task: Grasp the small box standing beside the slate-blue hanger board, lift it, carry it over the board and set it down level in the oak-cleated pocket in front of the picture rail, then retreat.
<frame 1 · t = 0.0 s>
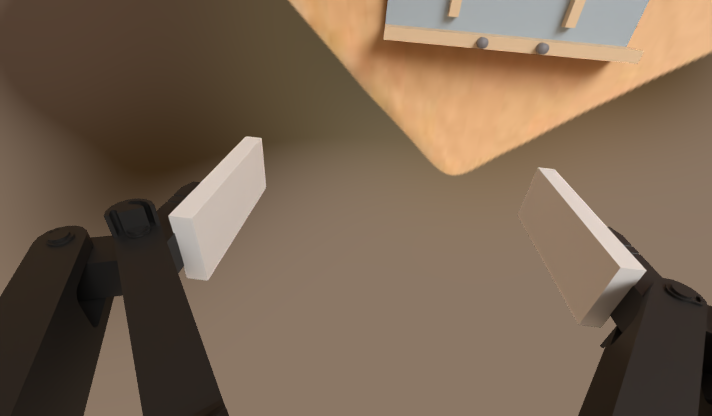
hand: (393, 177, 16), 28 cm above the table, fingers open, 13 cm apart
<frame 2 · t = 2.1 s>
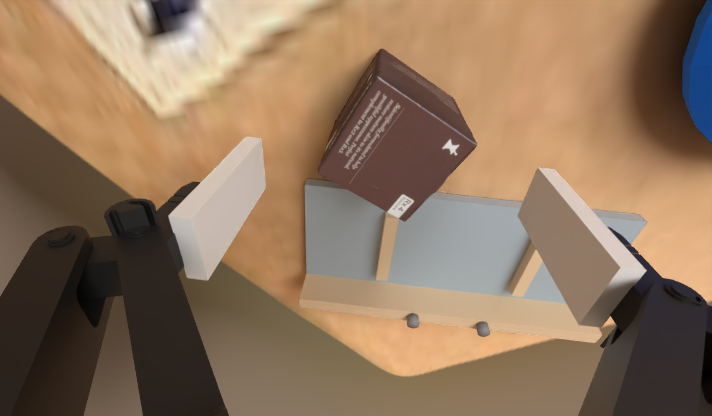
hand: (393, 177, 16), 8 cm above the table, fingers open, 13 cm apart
hanger board: (453, 248, 29), on the table
box: (392, 110, 23), on the table
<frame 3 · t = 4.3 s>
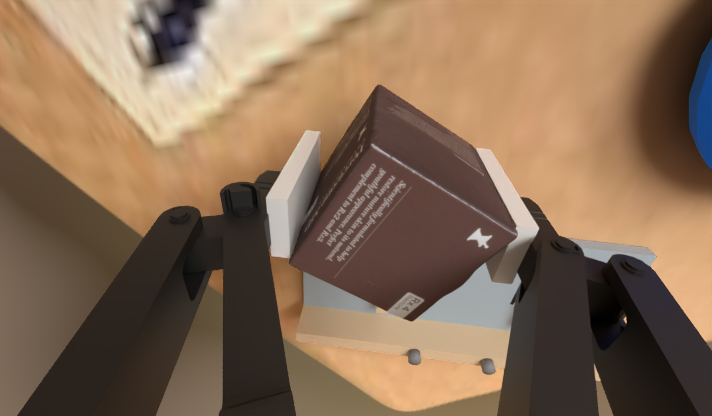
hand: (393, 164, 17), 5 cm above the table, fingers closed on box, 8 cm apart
hanger board: (456, 279, 28), on the table
box: (393, 159, 18), point 5 cm above the table, touching gripper
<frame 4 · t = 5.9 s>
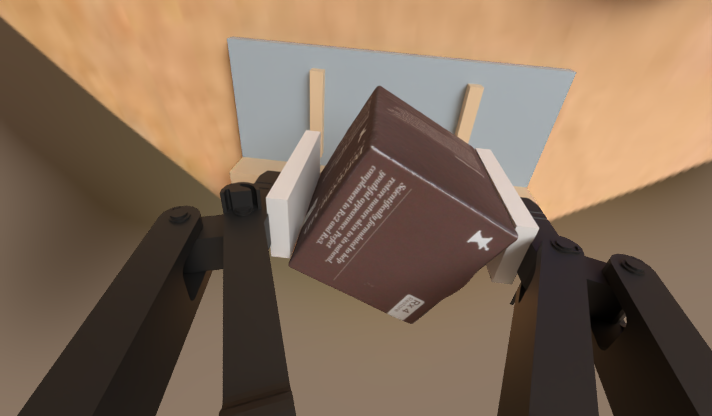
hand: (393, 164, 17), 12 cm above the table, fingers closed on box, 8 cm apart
hanger board: (389, 122, 28), on the table
box: (393, 160, 18), point 11 cm above the table, touching gripper
when the fingers open (2 cm above the table, at t = 7.9 s): box drops 1 cm, resting on hanger board.
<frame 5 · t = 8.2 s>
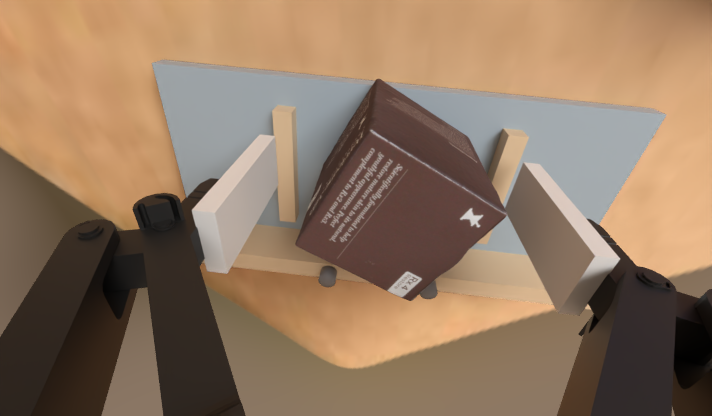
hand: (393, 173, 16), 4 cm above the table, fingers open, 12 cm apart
hanger board: (388, 175, 20), on the table
box: (393, 150, 19), point 1 cm above the table, touching hanger board
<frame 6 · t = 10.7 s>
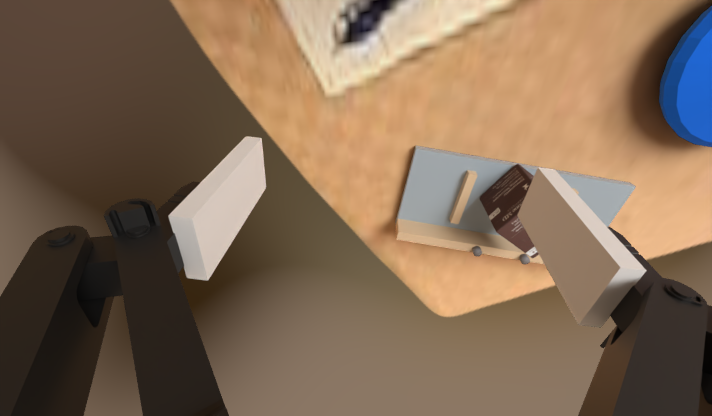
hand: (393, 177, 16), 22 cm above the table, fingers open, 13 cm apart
hanger board: (505, 203, 42), on the table
box: (513, 192, 40), point 1 cm above the table, touching hanger board
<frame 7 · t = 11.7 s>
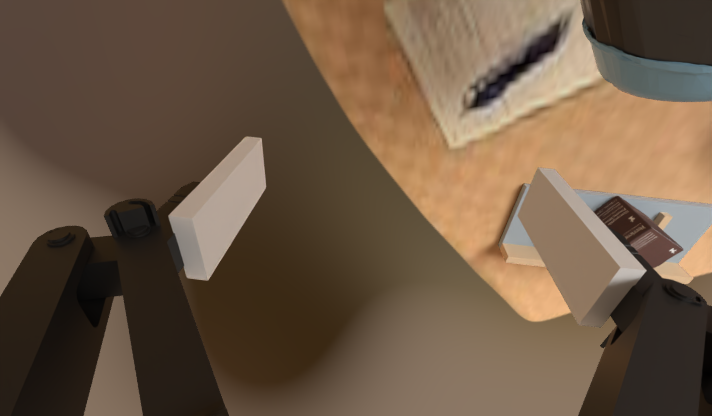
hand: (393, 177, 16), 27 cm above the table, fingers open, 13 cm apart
hanger board: (600, 226, 47), on the table
box: (610, 218, 46), point 1 cm above the table, touching hanger board
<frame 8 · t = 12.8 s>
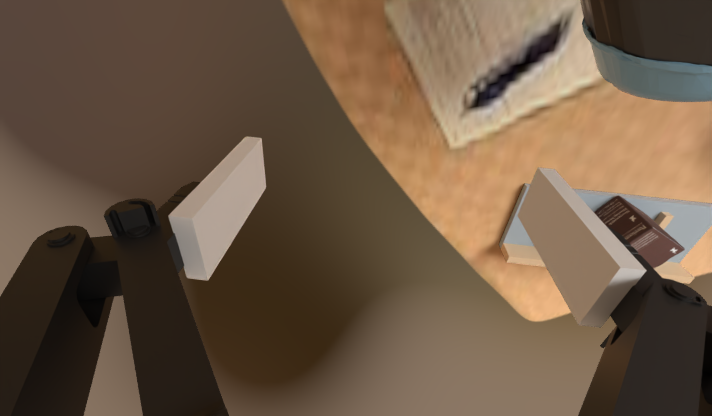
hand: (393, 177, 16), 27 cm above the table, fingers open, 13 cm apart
hanger board: (601, 226, 47), on the table
box: (611, 218, 46), point 1 cm above the table, touching hanger board
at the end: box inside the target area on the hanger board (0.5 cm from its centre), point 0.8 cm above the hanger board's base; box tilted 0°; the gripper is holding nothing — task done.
